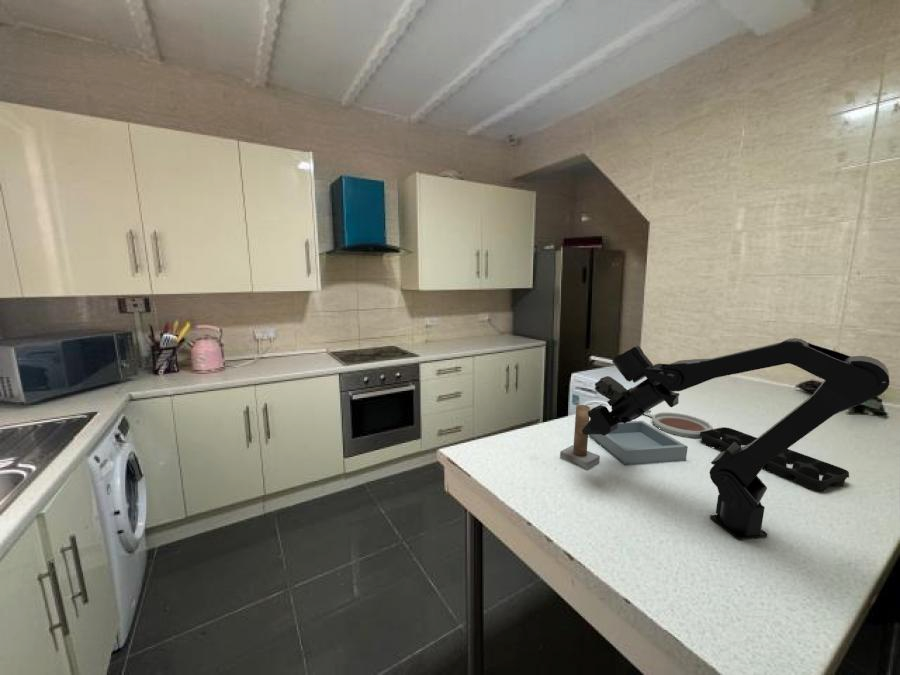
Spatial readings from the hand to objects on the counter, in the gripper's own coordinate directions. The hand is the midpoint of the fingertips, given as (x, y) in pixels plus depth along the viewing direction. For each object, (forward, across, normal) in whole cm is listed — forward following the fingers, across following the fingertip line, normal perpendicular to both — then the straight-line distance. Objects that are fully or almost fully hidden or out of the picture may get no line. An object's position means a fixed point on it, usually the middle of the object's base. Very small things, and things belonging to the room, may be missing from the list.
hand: (592, 427), depth 92 cm
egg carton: (-13, -39, +28) cm, 49 cm away
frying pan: (+7, -47, +8) cm, 49 cm away
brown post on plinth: (+9, 0, +5) cm, 11 cm away
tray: (+5, -19, +9) cm, 22 cm away
